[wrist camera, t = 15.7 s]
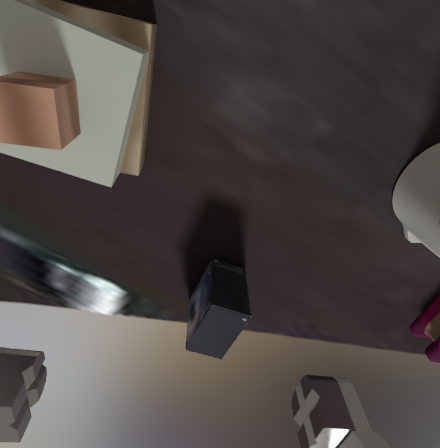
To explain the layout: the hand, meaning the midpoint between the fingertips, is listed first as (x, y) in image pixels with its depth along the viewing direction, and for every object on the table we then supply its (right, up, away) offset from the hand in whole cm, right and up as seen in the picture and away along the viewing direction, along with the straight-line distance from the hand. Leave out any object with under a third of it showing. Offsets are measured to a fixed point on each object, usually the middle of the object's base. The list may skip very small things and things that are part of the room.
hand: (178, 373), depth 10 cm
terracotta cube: (-15, +16, +20) cm, 30 cm away
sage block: (-15, +19, +23) cm, 33 cm away
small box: (+1, -5, +44) cm, 44 cm away
